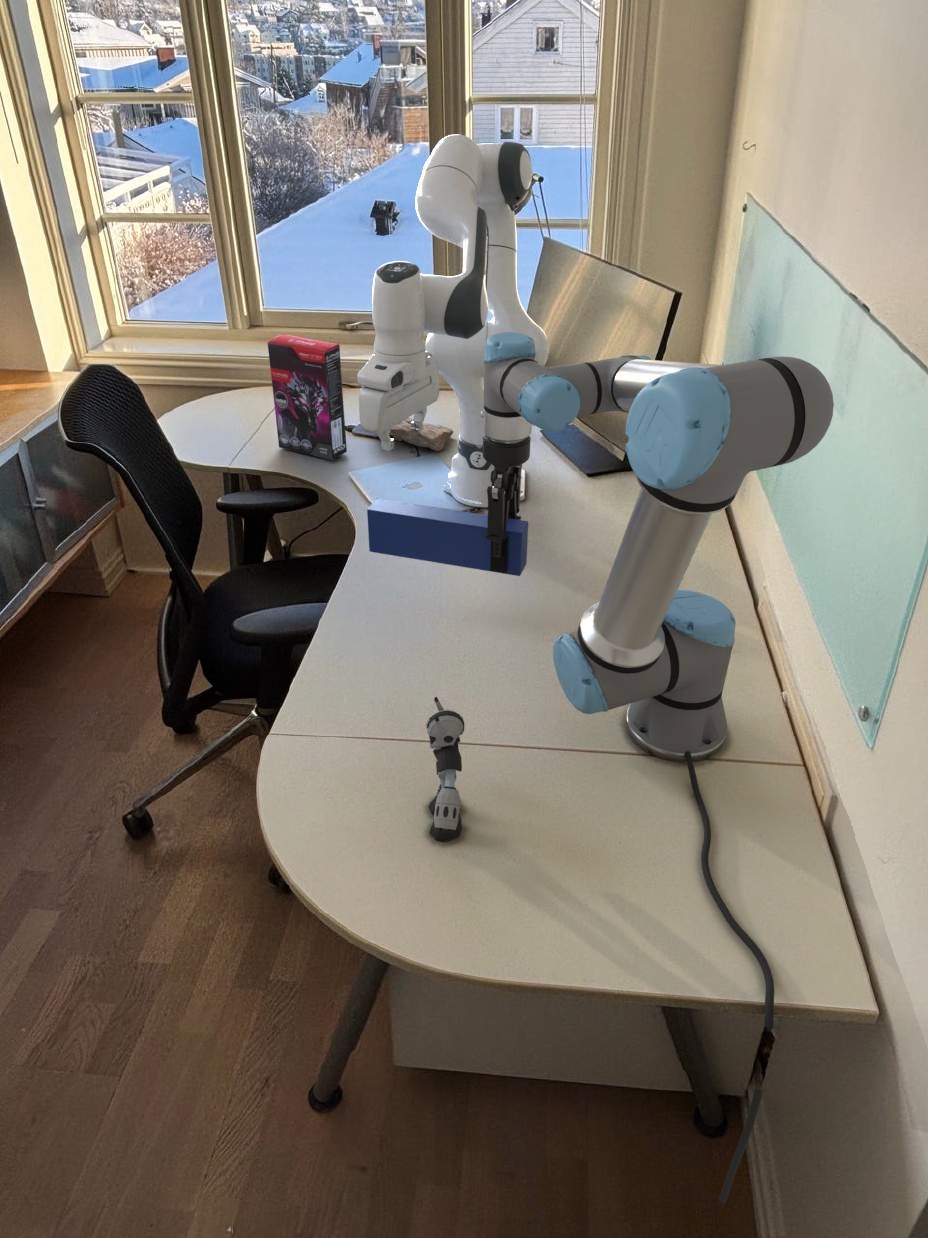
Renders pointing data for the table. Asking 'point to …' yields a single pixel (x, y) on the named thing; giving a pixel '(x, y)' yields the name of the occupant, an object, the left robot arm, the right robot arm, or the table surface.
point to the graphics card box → (308, 395)
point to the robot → (446, 772)
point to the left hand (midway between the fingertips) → (402, 439)
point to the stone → (422, 434)
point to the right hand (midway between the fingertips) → (502, 563)
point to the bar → (441, 535)
